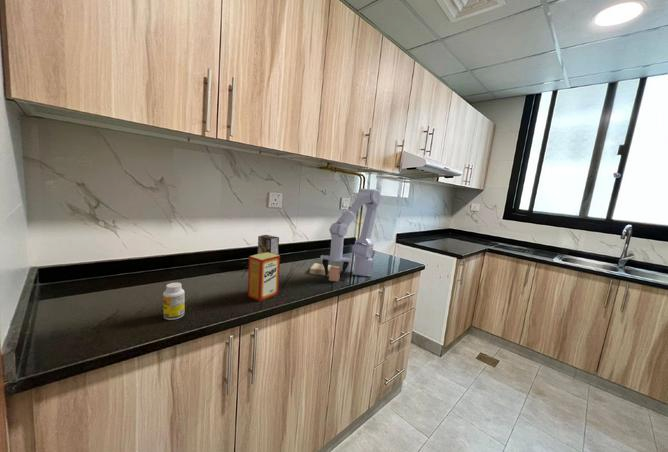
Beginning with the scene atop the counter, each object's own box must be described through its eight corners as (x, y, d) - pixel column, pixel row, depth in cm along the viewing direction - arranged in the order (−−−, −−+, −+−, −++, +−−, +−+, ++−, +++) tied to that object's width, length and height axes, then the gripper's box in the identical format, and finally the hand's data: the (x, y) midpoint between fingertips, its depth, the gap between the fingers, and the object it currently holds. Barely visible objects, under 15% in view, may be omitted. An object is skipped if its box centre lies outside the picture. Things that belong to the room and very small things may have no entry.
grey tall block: (278, 267, 134) (280, 237, 132) (270, 270, 129) (271, 238, 126) (265, 263, 138) (266, 234, 136) (256, 266, 133) (257, 235, 130)
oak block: (332, 270, 137) (332, 265, 137) (329, 276, 127) (329, 270, 127) (314, 268, 138) (314, 263, 138) (309, 274, 129) (310, 268, 128)
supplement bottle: (163, 314, 80) (162, 282, 79) (183, 310, 83) (183, 280, 82) (163, 322, 76) (163, 289, 74) (185, 318, 79) (185, 286, 77)
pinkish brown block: (339, 278, 125) (340, 266, 124) (338, 281, 120) (339, 269, 120) (330, 277, 125) (331, 265, 125) (328, 280, 121) (329, 268, 120)
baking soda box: (266, 289, 105) (268, 251, 103) (278, 293, 102) (280, 254, 100) (247, 296, 97) (249, 255, 95) (259, 301, 94) (261, 259, 92)
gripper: (320, 248, 118) (317, 276, 120) (351, 252, 116) (348, 280, 118) (322, 245, 125) (320, 272, 127) (352, 248, 123) (350, 275, 125)
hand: (334, 276), depth 123 cm, fingers open, 7 cm apart
